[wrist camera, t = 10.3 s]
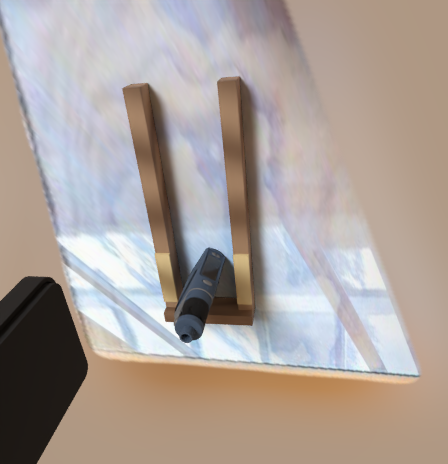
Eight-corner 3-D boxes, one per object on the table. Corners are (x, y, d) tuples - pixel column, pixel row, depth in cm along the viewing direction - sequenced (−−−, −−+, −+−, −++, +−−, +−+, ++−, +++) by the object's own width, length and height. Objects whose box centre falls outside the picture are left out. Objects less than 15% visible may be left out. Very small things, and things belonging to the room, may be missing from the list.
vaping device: (230, 254, 42) (207, 336, 32) (207, 287, 45) (178, 372, 34) (208, 242, 42) (178, 320, 31) (186, 276, 44) (152, 358, 34)
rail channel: (131, 84, 35) (117, 90, 32) (239, 76, 33) (234, 82, 31) (173, 304, 47) (165, 321, 44) (255, 307, 45) (252, 325, 42)
